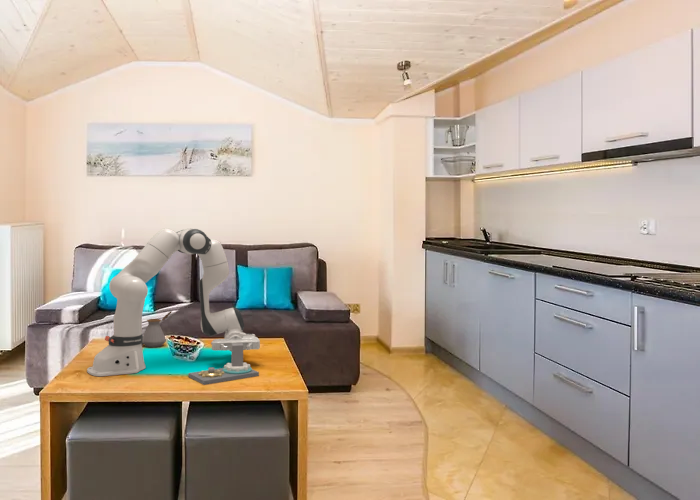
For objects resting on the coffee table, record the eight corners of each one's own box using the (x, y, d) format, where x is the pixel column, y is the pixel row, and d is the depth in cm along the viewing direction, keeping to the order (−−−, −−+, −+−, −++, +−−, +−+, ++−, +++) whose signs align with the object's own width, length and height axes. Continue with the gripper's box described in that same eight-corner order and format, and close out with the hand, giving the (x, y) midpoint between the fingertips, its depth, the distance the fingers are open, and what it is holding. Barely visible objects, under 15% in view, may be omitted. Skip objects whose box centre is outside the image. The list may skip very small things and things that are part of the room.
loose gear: (224, 372, 242) (224, 347, 242) (223, 366, 252) (224, 342, 252) (250, 371, 245) (251, 346, 244) (249, 365, 255) (249, 341, 254)
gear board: (204, 384, 232) (204, 374, 232) (188, 376, 243) (188, 366, 242) (258, 375, 247) (258, 365, 247) (241, 368, 258) (241, 359, 258)
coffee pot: (157, 349, 291) (157, 318, 290) (136, 347, 294) (136, 316, 294) (181, 340, 312) (181, 311, 311) (161, 339, 315) (162, 310, 314)
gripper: (211, 334, 265) (211, 341, 252) (258, 333, 270) (261, 340, 257) (210, 349, 266) (211, 356, 252) (258, 348, 270) (260, 355, 257)
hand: (236, 348), depth 254 cm, fingers open, 8 cm apart
